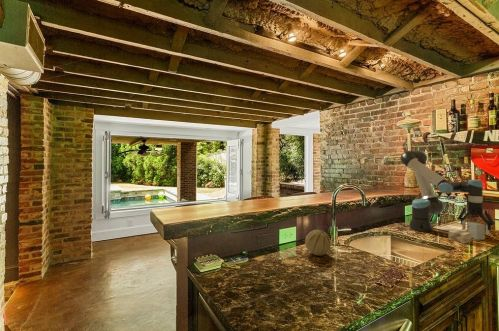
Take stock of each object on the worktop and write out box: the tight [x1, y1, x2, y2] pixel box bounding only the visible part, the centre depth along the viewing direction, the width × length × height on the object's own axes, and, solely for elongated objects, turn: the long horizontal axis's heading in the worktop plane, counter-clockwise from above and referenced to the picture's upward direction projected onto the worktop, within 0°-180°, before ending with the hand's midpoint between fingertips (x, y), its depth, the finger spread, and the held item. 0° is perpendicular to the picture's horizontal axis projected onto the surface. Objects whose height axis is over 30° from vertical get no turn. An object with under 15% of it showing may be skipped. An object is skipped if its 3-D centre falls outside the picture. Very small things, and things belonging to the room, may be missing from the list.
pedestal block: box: [448, 229, 472, 244], centre depth 170 cm, size 9×9×6 cm
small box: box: [466, 221, 486, 241], centre depth 175 cm, size 8×6×10 cm
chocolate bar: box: [375, 267, 406, 285], centre depth 119 cm, size 7×19×2 cm, turn 132°
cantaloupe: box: [304, 229, 332, 256], centre depth 149 cm, size 15×15×15 cm
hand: (475, 232), depth 175 cm, fingers open, 13 cm apart
